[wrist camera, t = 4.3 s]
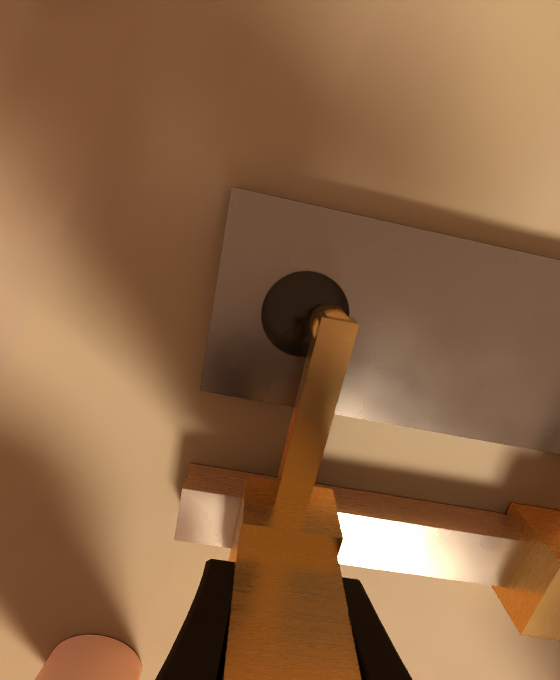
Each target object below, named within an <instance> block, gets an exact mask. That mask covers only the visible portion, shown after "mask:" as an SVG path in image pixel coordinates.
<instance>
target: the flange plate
mask: <svg viewBox="0 0 560 680" xmlns="http://www.w3.org/2000/svg"><path fill="white" fill-rule="evenodd" d="M324 303H333V304H336V305H338V306H339V307H341V308H342V310H343V311H344V312H345V313H346V315H347V316H350V317H354V319H355V320H356V321H357V322H358V323H359V328H358V332H357V335H356V339H355V342H354V346H353V349H352V353H351V356H350V360H349V364H348V367H347V371H346V374H345V378H344V381H343V385H342V388H341V392H340V395H339V399H338V402H337V406H336V409H335V413H334V414H336V415H342V416H347V417H353V418H359V419H364V420H370V421H375V422H381V423H387V424H392V425H398V426H404V427H409V428H415V429H421V430H426V431H432V432H438V433H443V434H449V435H454V436H460V437H466V438H471V439H477V440H483V441H488V442H494V443H500V444H505V445H511V446H517V447H522V448H528V449H534V450H539V451H545V452H550V453H556V454H560V260H557V259H552V258H548V257H543V256H539V255H534V254H530V253H525V252H521V251H516V250H512V249H507V248H503V247H499V246H494V245H490V244H485V243H481V242H476V241H472V240H467V239H463V238H458V237H454V236H449V235H445V234H440V233H436V232H431V231H427V230H422V229H418V228H414V227H409V226H405V225H400V224H396V223H391V222H387V221H382V220H378V219H373V218H369V217H364V216H360V215H355V214H351V213H346V212H342V211H338V210H333V209H329V208H324V207H320V206H315V205H311V204H306V203H302V202H297V201H293V200H288V199H284V198H279V197H275V196H270V195H266V194H261V193H257V192H253V191H248V190H244V189H239V188H235V187H231V193H230V199H229V206H228V212H227V218H226V225H225V231H224V238H223V244H222V251H221V257H220V264H219V270H218V276H217V283H216V289H215V296H214V302H213V309H212V315H211V321H210V328H209V334H208V341H207V347H206V354H205V360H204V366H203V373H202V379H201V386H200V391H206V392H212V393H217V394H223V395H229V396H234V397H240V398H246V399H251V400H257V401H263V402H268V403H274V404H279V405H285V406H291V407H295V403H296V399H297V394H298V390H299V386H300V382H301V378H302V374H303V370H304V366H305V362H306V358H307V354H308V350H309V346H310V341H311V337H312V331H311V328H310V325H309V318H310V315H311V313H312V311H313V310H314V309H315V308H316V307H317V306H319V305H321V304H324Z"/></svg>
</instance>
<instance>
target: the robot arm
mask: <svg viewBox="0 0 560 680" xmlns="http://www.w3.org/2000/svg"><path fill="white" fill-rule="evenodd" d="M234 569H235V562H230V561H223V560H215V559H210V560H208V561H207V562H206V564H205V568H204V572H203V576H202V579H201V582H200V585H199V587H198V590H197V593H196V595H195V598H194V600H193V603H192V605H191V608H190V610H189V612H188V615H187V617H186V619H185V621H184V623H183V625H182V628H181V630H180V632H179V634H178V636H177V638H176V640H175V642H174V644H173V646H172V649H171V651H170V653H169V655H168V657H167V659H166V661H165V662H164V664H163V666H162V668H161V670H160V672H159V674H158V675H157V677H156V679H155V680H216V677H217V672H218V667H219V662H220V657H221V652H222V646H223V641H224V636H225V631H226V626H227V621H228V616H229V611H230V605H231V600H232V595H233V582H234ZM342 581H343V586H344V592H345V597H346V602H347V607H348V615H349V619H350V623H351V628H352V633H353V638H354V643H355V648H356V654H357V659H358V664H359V669H360V674H361V679H362V680H412V678H411V676H410V674H409V673H408V671H407V669H406V667H405V666H404V664H403V662H402V660H401V659H400V657H399V655H398V653H397V651H396V649H395V648H394V646H393V644H392V642H391V640H390V638H389V636H388V634H387V632H386V631H385V629H384V627H383V625H382V623H381V621H380V619H379V617H378V615H377V613H376V611H375V609H374V607H373V605H372V604H371V602H370V600H369V598H368V596H367V594H366V592H365V590H364V588H363V586H362V584H361V582H360V581H359V580H357V579H350V578H343V577H342Z"/></svg>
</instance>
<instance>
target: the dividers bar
mask: <svg viewBox="0 0 560 680" xmlns="http://www.w3.org/2000/svg"><path fill="white" fill-rule="evenodd" d="M247 476H253V477H259V478H266V479H272V480H277V477H272V476H266V475H260V474H254V473H247V472H241V471H235V470H229V469H222V468H216V467H210V466H204V465H198V464H190V467H189V470H188V473H187V475H186V478H185V481H184V484H183V487H182V493H181V499H180V506H179V512H178V519H177V525H176V532H175V538H174V540H178V541H185V542H192V543H199V544H206V545H213V546H220V547H227V548H231V547H232V543H233V538H234V533H235V529H236V524H237V519H238V515H239V510H240V506H241V501H242V496H243V492H244V487H245V482H246V478H247ZM314 486H316V487H322V488H328V489H333V493H334V498H335V502H336V507H337V511H338V515H339V520H340V524H341V529H342V533H343V538H344V539H343V542H342V545H341V548H340V551H339V554H338V561H339V564H346V565H353V566H360V567H367V568H374V569H381V570H387V571H394V572H401V573H408V574H415V575H422V576H429V577H436V578H443V579H450V580H457V581H464V582H471V583H478V584H485V585H491V586H492V588H493V589H494V591H495V593H496V594H497V596H498V598H499V599H500V601H501V603H502V604H503V606H504V608H505V609H506V611H507V613H508V614H509V616H510V618H511V619H512V621H513V623H514V624H515V626H516V628H517V629H518V631H519V633H520V635H524V636H532V637H539V638H547V639H554V640H560V511H559V510H553V509H546V508H540V507H534V506H528V505H522V504H516V503H511V504H510V506H509V509H508V511H507V513H506V514H502V513H496V512H490V511H484V510H478V509H471V508H465V507H459V506H453V505H446V504H440V503H434V502H428V501H422V500H415V499H409V498H403V497H397V496H390V495H384V494H378V493H372V492H366V491H359V490H353V489H347V488H341V487H334V486H328V485H322V484H316V483H314Z"/></svg>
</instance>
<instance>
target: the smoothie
mask: <svg viewBox="0 0 560 680" xmlns="http://www.w3.org/2000/svg"><path fill="white" fill-rule="evenodd" d="M141 671H142V666H141V662H140V660H139V657H138V656H137V654H136V653H135V652H134V651H133V650H132V649H131V648H130V647H128V646H127V645H126V644H124V643H122V642H120V641H118V640H116V639H113V638H110V637H106V636H101V635H80V636H75V637H72V638H69V639H67V640H65V641H63V642H61V643H60V644H59V645H57V646H56V648H55V649H54V650H53V652H52V653H51V655H50V656H49V658H48V659H47V661H46V663H45V664H44V666H43V667H42V669H41V670H40V672H39V674H38V675H37V677H36V678H35V680H140V677H141Z"/></svg>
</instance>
